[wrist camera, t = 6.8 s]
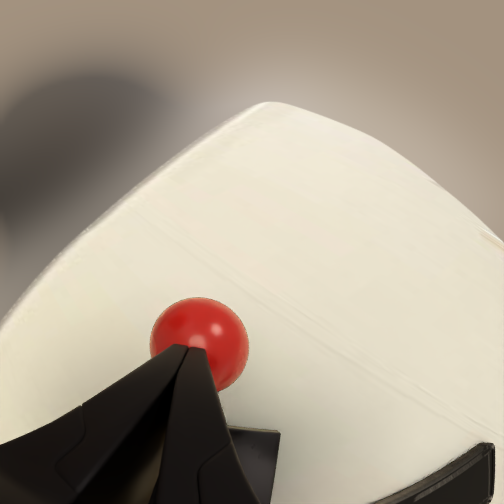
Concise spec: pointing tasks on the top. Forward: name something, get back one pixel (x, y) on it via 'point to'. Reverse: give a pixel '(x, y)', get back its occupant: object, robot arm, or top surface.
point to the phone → (455, 481)
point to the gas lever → (205, 336)
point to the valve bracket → (253, 459)
